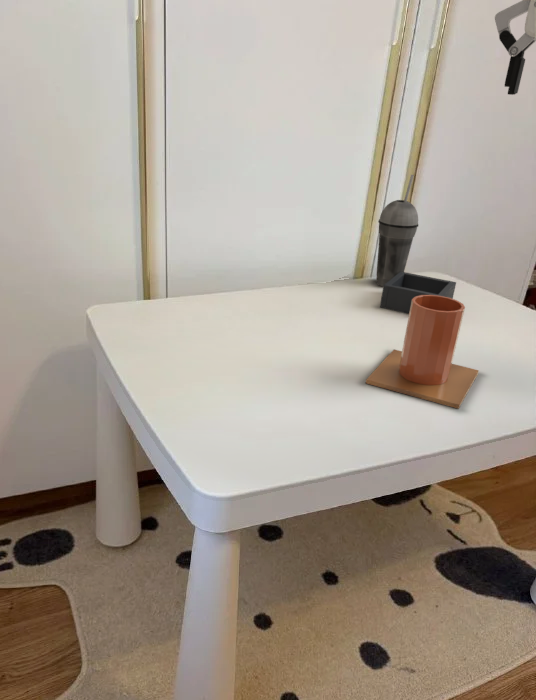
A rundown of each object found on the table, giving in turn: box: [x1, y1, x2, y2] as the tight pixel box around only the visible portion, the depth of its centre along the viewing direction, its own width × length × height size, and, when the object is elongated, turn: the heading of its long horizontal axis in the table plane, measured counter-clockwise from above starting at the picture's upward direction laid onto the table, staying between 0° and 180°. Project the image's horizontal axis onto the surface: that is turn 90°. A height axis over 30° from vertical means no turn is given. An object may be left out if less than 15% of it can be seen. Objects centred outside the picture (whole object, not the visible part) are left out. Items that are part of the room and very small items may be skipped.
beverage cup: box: [375, 174, 419, 287], centre depth 117 cm, size 7×7×20 cm
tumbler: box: [399, 295, 466, 385], centre depth 82 cm, size 6×6×10 cm
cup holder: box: [379, 271, 457, 315], centre depth 110 cm, size 10×10×4 cm
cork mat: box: [365, 349, 480, 410], centre depth 84 cm, size 12×12×1 cm
